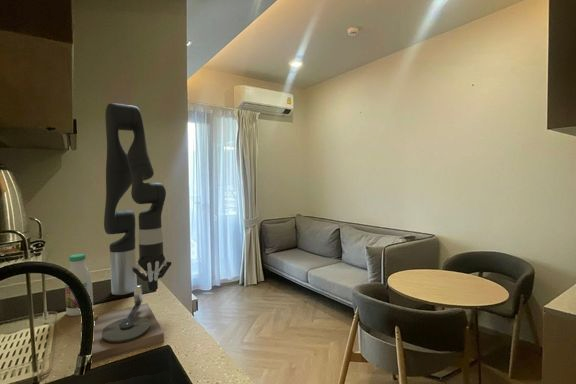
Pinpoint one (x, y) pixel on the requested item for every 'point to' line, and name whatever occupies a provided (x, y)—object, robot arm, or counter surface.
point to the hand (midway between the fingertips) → (152, 291)
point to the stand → (109, 350)
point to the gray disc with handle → (128, 324)
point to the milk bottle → (84, 275)
